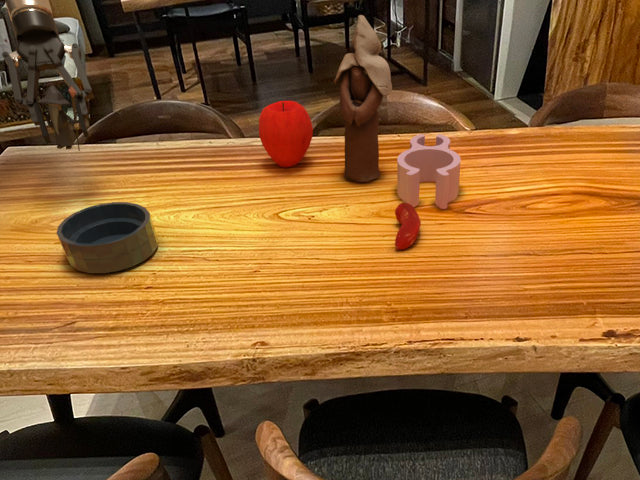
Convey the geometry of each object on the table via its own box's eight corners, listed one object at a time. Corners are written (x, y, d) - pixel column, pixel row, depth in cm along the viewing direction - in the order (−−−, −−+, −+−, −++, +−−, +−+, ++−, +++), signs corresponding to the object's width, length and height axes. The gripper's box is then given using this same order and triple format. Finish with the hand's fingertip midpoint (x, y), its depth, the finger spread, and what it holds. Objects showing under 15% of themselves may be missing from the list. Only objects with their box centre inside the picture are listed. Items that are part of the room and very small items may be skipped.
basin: (54, 275, 108) (40, 245, 104) (90, 231, 119) (79, 202, 115) (141, 276, 107) (131, 245, 103) (169, 231, 118) (161, 202, 114)
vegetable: (385, 202, 116) (392, 242, 109) (411, 192, 115) (420, 231, 107) (393, 221, 120) (401, 260, 112) (419, 210, 118) (429, 249, 111)
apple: (310, 176, 134) (304, 113, 125) (258, 175, 136) (247, 112, 127) (320, 154, 143) (314, 93, 134) (270, 153, 144) (261, 93, 135)
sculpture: (401, 164, 138) (400, 10, 118) (386, 189, 129) (383, 27, 109) (351, 159, 140) (343, 8, 120) (333, 184, 131) (321, 25, 111)
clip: (401, 165, 137) (401, 134, 132) (458, 166, 136) (460, 134, 131) (395, 208, 122) (394, 174, 118) (458, 209, 121) (460, 175, 117)
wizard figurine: (44, 150, 120) (26, 84, 112) (56, 141, 124) (40, 76, 117) (87, 153, 120) (72, 87, 113) (98, 144, 124) (84, 79, 117)
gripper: (89, 27, 124) (121, 137, 123) (-15, 39, 119) (18, 154, 118) (82, 2, 117) (116, 119, 116) (-30, 14, 112) (5, 136, 111)
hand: (66, 136), depth 117 cm, fingers closed on wizard figurine, 6 cm apart
